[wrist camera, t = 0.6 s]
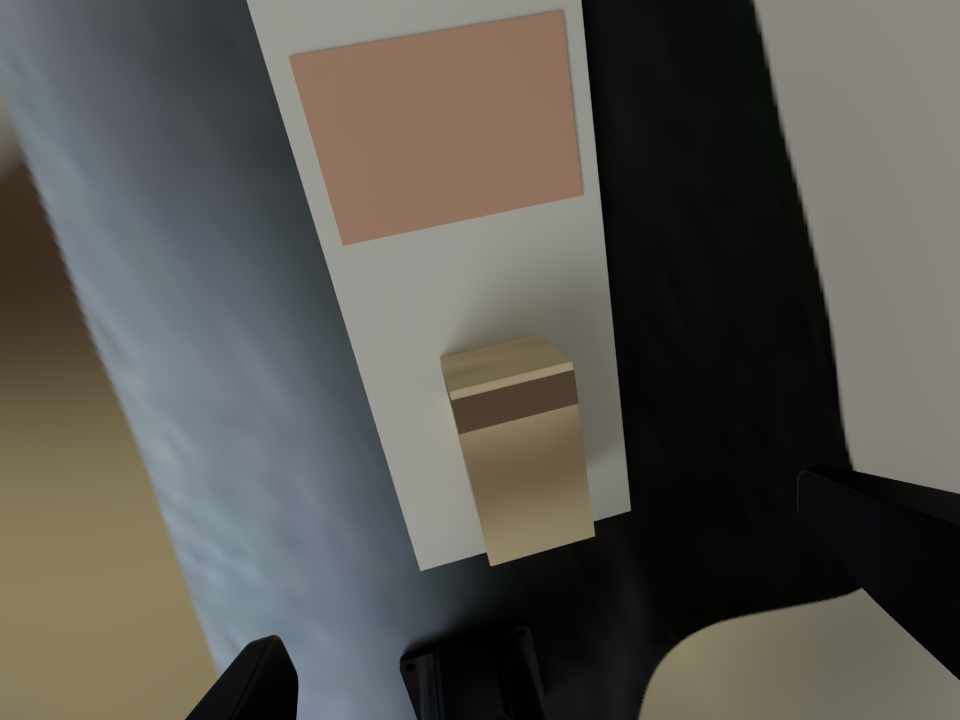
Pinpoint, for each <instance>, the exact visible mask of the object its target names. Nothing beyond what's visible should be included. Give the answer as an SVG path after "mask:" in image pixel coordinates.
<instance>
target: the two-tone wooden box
mask: <svg viewBox="0 0 960 720" xmlns="http://www.w3.org/2000/svg"><path fill="white" fill-rule="evenodd" d="M439 358H440V362H441V369H442V373H443V377H444V381H445V385H446V390H447V394H448V397H449V401H450V404H451V408H452V413H453V417H454V421H455V425H456V429H457V434H458V438H459V442H460V446H461V450H462V455H463V459H464V463H465V467H466V471H467V476H468V480H469V484H470V488H471V492H472V497H473V501H474V505H475V509H476V513H477V517H478V520H479V524H480V528H481V532H482V536H483V539H484V543H485V547H486V551H487V555H488V558H489V562H490V566H494V565H497V564H501V563H504V562H507V561H511V560H514V559H518V558H521V557H525V556H528V555H532V554H535V553H538V552H542V551H545V550H549V549H552V548H556V547H559V546H563V545H566V544H569V543H573V542H576V541H580V540H583V539H587V538H590V537H594V536H595V531H594V523H593V516H592V508H591V501H590V493H589V485H588V478H587V470H586V462H585V455H584V447H583V440H582V432H581V424H580V417H579V409H578V404H579V403H578V396H577V388H576V380H575V373H574V370H573V364H572V361H571V360H570V359H569V358H568V357H567V356H565V355H564V354H563V353H562V352H561V351H560V350H558V349H557V348H556V347H555V346H554V345H553V344H552V343H550V342H549V341H548V340H547V339H546V338H545V337H543V336H542V335H541V334H540V333H539V334H535V335H531V336H527V337H523V338H518V339H514V340H510V341H506V342H502V343H498V344H493V345H489V346H485V347H481V348H477V349H473V350H469V351H464V352H460V353H456V354H452V355H448V356H444V357H439Z"/></svg>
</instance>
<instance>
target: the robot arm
mask: <svg viewBox="0 0 960 720" xmlns="http://www.w3.org/2000/svg"><path fill="white" fill-rule="evenodd" d="M797 511H798V515H799V517H800V519H801V520H802V522H803V523H804V525H805V526H806V527H807V528H808V529H809V530H810V531H811V533H812V534H813V535H814V536H815V537H816V538H817V539H818V540H819V541H820V542H821V543H822V544H823V546H824V547H825V548H826V549H827V550H828V551H829V552H830V553H831V554H832V555H833V556H834V558H835V559H836V560H837V561H838V562H839V563H840V564H841V565H842V566H843V567H844V568H845V569H846V571H847V572H848V573H849V574H850V575H851V576H852V577H853V578H854V579H855V580H856V581H857V582H858V584H859V585H860V586H861V587H862V588H863V589H864V590H865V591H866V592H867V593H868V594H869V595H870V596H871V597H872V598H873V599H874V600H875V601H876V603H878V604H879V605H880V606H881V607H882V608H883V609H884V610H885V611H886V612H887V613H888V614H889V615H890V616H891V617H892V618H893V619H894V620H895V621H896V622H897V623H898V624H900V625H901V626H902V627H903V628H904V629H905V630H906V631H907V632H908V633H909V634H910V635H911V636H912V637H914V638H915V639H916V640H917V641H918V642H919V643H920V644H921V645H922V646H923V647H924V648H925V649H926V650H928V651H929V652H930V653H931V654H932V655H933V656H934V657H935V658H936V659H937V660H938V661H939V662H940V663H942V664H943V665H944V666H945V667H946V668H947V669H948V670H949V671H950V672H951V673H952V674H953V675H955V676H956V677H957V678H958V679H959V680H960V494H958V493H953V492H948V491H943V490H939V489H935V488H930V487H925V486H921V485H916V484H912V483H907V482H902V481H898V480H893V479H889V478H884V477H880V476H875V475H870V474H866V473H861V472H857V471H852V470H848V469H843V468H838V467H834V466H829V465H818V466H814V467H811V468H808V469H805V470H802V471H801V472H800V473H799V475H798V477H797ZM410 663H411V664H410ZM400 672H401V675H402V677H403V680H404V683H405V686H406V689H407V691H408V694H409V697H410V700H411V703H412V705H413V708H414V711H415V714H416V717H417V719H418V720H545V717H544V713H543V712H544V711H545V710H546V706H547V705H546V701H545V696H544V691H543V686H542V682H541V677H540V672H539V667H538V663H537V658H536V653H535V648H534V644H533V639H532V634H531V630H530V627H529V624H528V622H527V620H525V619H516V620H513V621H509V622H506V623H503V624H499V625H496V626H493V627H490V628H486V629H483V630H480V631H476V632H473V633H470V634H467V635H463V636H460V637H457V638H453V639H450V640H447V641H444V642H440V643H437V644H434V645H430V646H427V647H424V648H420V649H417V650H414V651H411V652H407V653H405V654H404V655H402V656H401V658H400ZM297 702H298V676H297V672H296V670H295V667H294V665H293V663H292V661H291V659H290V657H289V655H288V652H287V650H286V648H285V646H284V644H283V642H282V640H281V638H280V637H279V636H277V635H271V636H268V637H264V638H261V639H258V640H255V641H252V642H250V643H249V644H248V645H247V646H246V647H245V648H244V649H243V650H242V651H241V652H240V654H239V655H238V656H237V657H236V658H235V660H234V661H233V662H232V663H231V665H230V666H229V667H228V668H227V669H226V671H225V672H224V673H223V674H222V675H221V677H220V678H219V679H218V680H217V681H216V683H215V684H214V685H213V686H212V687H211V689H210V690H209V691H208V692H207V694H206V695H205V696H204V697H203V698H202V700H201V701H200V702H199V703H198V704H197V706H196V707H195V708H194V709H193V710H192V712H191V713H190V714H189V715H188V716H187V718H186V719H185V720H296V716H297Z"/></svg>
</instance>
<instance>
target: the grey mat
mask: <svg viewBox="0 0 960 720" xmlns="http://www.w3.org/2000/svg"><path fill="white" fill-rule="evenodd" d="M247 3H248V6H249V10H250V13H251V16H252V20H253V23H254V26H255V29H256V33H257V36H258V39H259V43H260V46H261V49H262V52H263V56H264V59H265V62H266V66H267V69H268V72H269V75H270V79H271V82H272V85H273V89H274V92H275V95H276V98H277V102H278V105H279V108H280V111H281V115H282V118H283V121H284V125H285V128H286V131H287V134H288V138H289V141H290V144H291V148H292V151H293V154H294V157H295V161H296V164H297V167H298V171H299V174H300V177H301V180H302V184H303V187H304V190H305V194H306V197H307V200H308V203H309V207H310V210H311V213H312V217H313V220H314V223H315V226H316V230H317V233H318V236H319V240H320V243H321V246H322V249H323V253H324V256H325V259H326V263H327V266H328V269H329V272H330V276H331V279H332V282H333V285H334V289H335V292H336V295H337V299H338V302H339V305H340V308H341V312H342V315H343V318H344V322H345V325H346V328H347V331H348V335H349V338H350V341H351V345H352V348H353V351H354V354H355V358H356V361H357V364H358V368H359V371H360V374H361V377H362V381H363V384H364V387H365V391H366V394H367V397H368V400H369V404H370V407H371V410H372V414H373V417H374V420H375V423H376V427H377V430H378V433H379V436H380V440H381V443H382V446H383V450H384V453H385V456H386V459H387V463H388V466H389V469H390V473H391V476H392V479H393V482H394V486H395V489H396V492H397V496H398V499H399V502H400V505H401V509H402V512H403V515H404V519H405V522H406V525H407V528H408V532H409V535H410V538H411V542H412V545H413V548H414V551H415V555H416V558H417V561H418V565H419V568H420V571H422V570H426V569H429V568H433V567H436V566H440V565H443V564H447V563H450V562H454V561H457V560H461V559H464V558H468V557H471V556H475V555H478V554H482V553H485V552H487V551H486V547H485V543H484V539H483V536H482V532H481V528H480V524H479V520H478V517H477V513H476V509H475V505H474V501H473V497H472V492H471V488H470V484H469V480H468V476H467V471H466V467H465V463H464V459H463V455H462V450H461V446H460V442H459V438H458V434H457V429H456V425H455V421H454V417H453V413H452V408H451V404H450V401H449V397H448V394H447V390H446V385H445V381H444V377H443V373H442V369H441V362H440V358H439V357H444V356H448V355H452V354H456V353H460V352H464V351H469V350H473V349H477V348H481V347H485V346H489V345H493V344H498V343H502V342H506V341H510V340H514V339H518V338H523V337H527V336H531V335H535V334H539V333H540V334H541V335H542V336H543V337H545V338H546V339H547V340H548V341H549V342H550V343H552V344H553V345H554V346H555V347H556V348H557V349H558V350H560V351H561V352H562V353H563V354H564V355H565V356H567V357H568V358H569V359H570V360H571V361H572V364H573V370H574V373H575V380H576V388H577V396H578V403H579V404H578V409H579V417H580V424H581V432H582V440H583V447H584V455H585V462H586V470H587V478H588V485H589V493H590V501H591V508H592V516H593V521H597V520H600V519H604V518H607V517H611V516H614V515H618V514H621V513H625V512H628V511H631V506H630V496H629V486H628V476H627V465H626V455H625V445H624V434H623V424H622V414H621V404H620V393H619V383H618V373H617V363H616V352H615V342H614V332H613V322H612V311H611V301H610V291H609V281H608V270H607V260H606V250H605V239H604V229H603V219H602V209H601V198H600V188H599V178H598V168H597V157H596V147H595V137H594V127H593V116H592V106H591V96H590V86H589V75H588V65H587V55H586V44H585V34H584V24H583V14H582V3H581V0H247Z"/></svg>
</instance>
